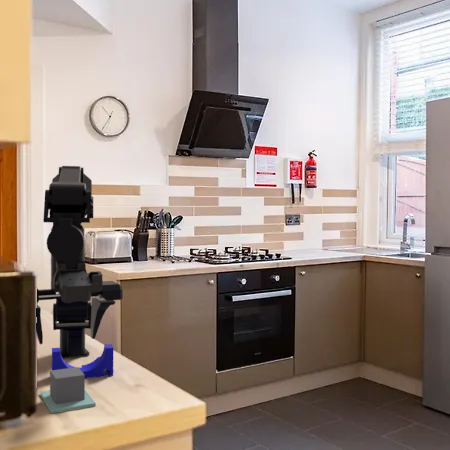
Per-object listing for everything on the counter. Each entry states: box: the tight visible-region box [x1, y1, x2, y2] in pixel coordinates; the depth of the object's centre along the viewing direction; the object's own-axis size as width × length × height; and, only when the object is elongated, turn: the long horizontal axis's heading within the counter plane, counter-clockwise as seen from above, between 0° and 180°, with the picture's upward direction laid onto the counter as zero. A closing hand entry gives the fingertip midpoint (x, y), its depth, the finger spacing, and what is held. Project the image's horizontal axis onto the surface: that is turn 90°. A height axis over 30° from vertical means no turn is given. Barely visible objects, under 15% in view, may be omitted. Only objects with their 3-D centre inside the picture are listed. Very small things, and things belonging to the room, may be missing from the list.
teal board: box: [40, 389, 97, 414], centre depth 99 cm, size 10×8×1 cm
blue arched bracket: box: [51, 343, 114, 379], centre depth 114 cm, size 12×4×6 cm, turn 109°
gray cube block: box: [49, 366, 86, 404], centre depth 99 cm, size 5×5×4 cm
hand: (67, 341), depth 99 cm, fingers open, 9 cm apart
